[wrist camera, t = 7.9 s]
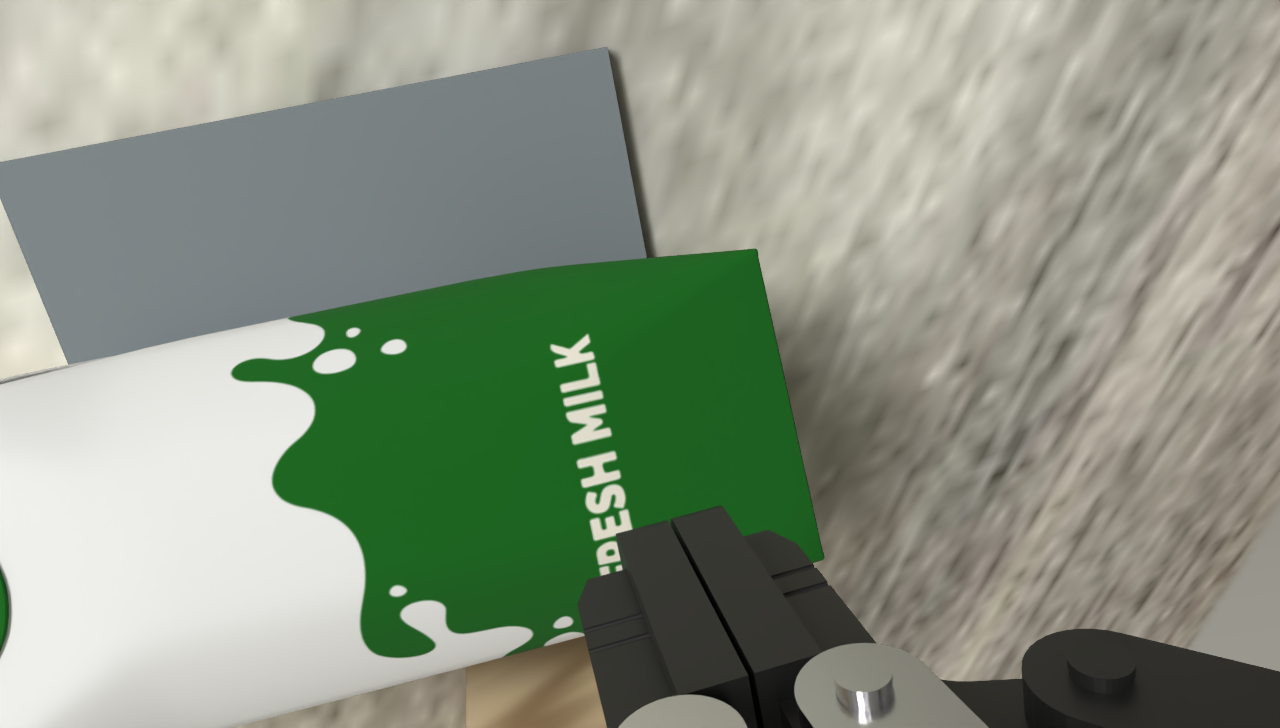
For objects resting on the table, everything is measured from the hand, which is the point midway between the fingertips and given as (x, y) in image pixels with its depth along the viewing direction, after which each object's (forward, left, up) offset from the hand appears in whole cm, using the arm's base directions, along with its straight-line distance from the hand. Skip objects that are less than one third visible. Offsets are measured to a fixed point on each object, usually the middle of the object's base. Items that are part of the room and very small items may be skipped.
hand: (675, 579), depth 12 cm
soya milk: (-4, +2, -10) cm, 11 cm away
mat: (+5, 0, -15) cm, 16 cm away
